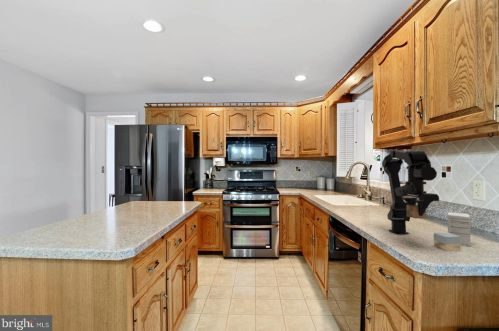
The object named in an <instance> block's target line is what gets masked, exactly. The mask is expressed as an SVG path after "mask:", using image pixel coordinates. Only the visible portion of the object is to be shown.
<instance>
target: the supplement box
mask: <svg viewBox="0 0 499 331" xmlns="http://www.w3.org/2000/svg"><path fill="white" fill-rule="evenodd" d="M447 233H451V234H454V235H457V236H460V244H461V246H465V247H471V244H472V243H471V240H472V239H471V216H470V215H469V213H462V212H460V213H459V212H447Z"/></svg>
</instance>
